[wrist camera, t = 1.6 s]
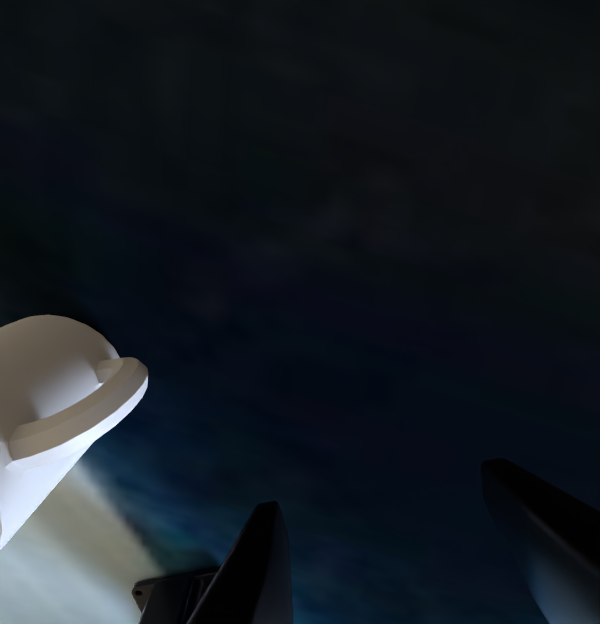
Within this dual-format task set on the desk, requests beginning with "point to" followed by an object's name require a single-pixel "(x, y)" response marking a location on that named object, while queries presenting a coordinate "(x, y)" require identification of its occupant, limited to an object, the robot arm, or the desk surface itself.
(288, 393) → the desk surface
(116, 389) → the cup
